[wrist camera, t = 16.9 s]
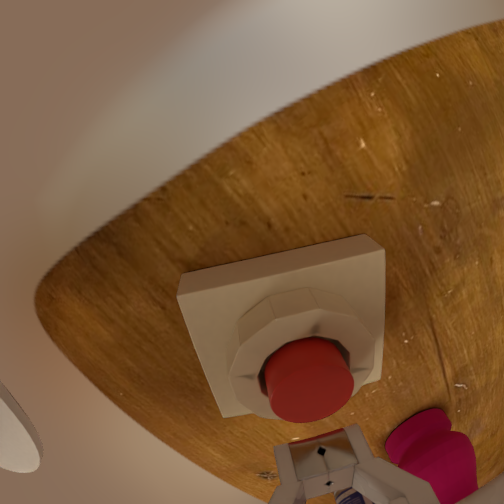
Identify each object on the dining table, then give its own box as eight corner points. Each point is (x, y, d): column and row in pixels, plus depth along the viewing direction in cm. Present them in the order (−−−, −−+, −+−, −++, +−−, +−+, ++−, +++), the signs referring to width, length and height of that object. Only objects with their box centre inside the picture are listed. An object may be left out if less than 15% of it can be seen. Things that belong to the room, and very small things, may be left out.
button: (270, 401, 13) (276, 430, 12) (257, 348, 12) (263, 378, 11) (342, 384, 14) (353, 410, 12) (340, 327, 12) (355, 354, 11)
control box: (221, 391, 18) (224, 444, 14) (181, 273, 15) (170, 320, 11) (367, 356, 18) (393, 401, 14) (365, 233, 15) (406, 265, 11)
